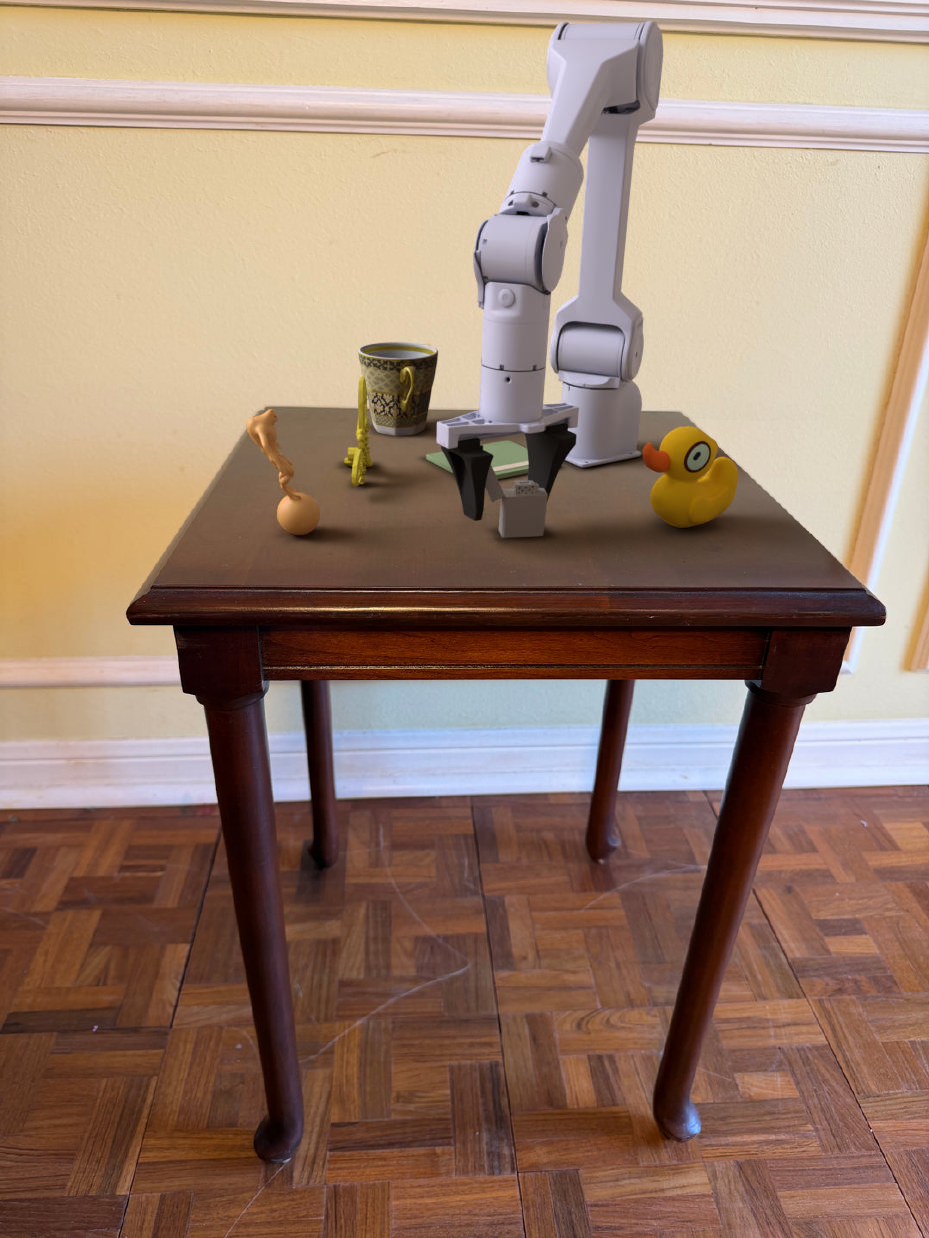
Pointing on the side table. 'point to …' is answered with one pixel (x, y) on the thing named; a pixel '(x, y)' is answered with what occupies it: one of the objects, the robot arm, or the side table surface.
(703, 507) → the duckling
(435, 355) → the ceramic cup
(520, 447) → the towel
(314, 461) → the side table surface
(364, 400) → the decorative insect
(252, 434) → the figurine
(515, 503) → the lighter
